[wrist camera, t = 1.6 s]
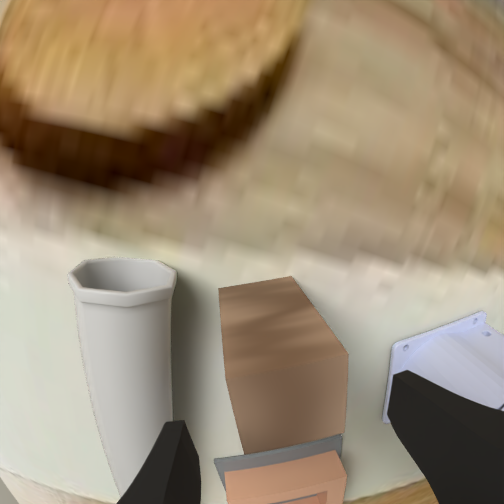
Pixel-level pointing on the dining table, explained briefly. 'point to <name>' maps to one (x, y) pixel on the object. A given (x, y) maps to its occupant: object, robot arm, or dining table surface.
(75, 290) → the tube
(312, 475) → the socket
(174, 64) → the dining table surface
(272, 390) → the peg
